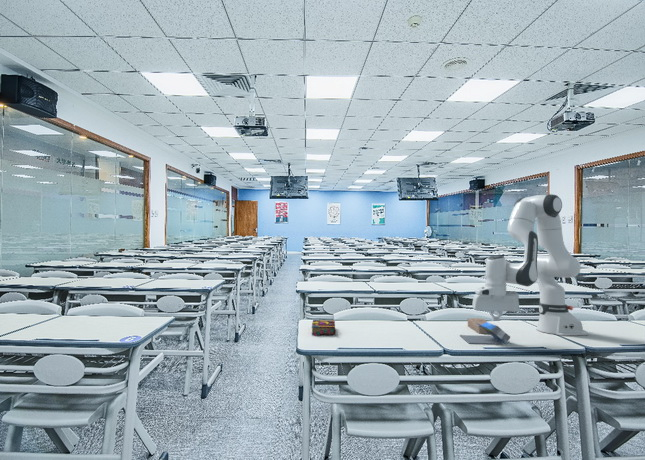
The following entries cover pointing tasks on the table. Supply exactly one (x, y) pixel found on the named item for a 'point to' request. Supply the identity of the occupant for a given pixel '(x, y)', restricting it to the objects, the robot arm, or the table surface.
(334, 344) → the table surface
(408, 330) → the table surface
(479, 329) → the brick
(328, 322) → the decorated brown box
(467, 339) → the pad
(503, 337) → the label tape cartridge
